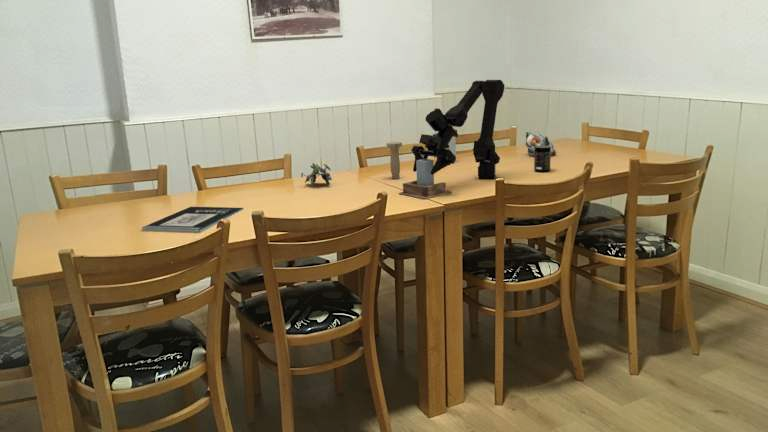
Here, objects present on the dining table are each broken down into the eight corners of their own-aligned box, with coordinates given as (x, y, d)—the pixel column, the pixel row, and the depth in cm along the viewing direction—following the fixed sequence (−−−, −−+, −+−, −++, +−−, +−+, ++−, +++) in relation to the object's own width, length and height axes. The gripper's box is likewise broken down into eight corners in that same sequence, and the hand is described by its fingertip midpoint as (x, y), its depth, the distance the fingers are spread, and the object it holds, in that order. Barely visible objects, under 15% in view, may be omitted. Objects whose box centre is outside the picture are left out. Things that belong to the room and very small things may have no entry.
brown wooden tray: (425, 187, 248) (424, 177, 247) (451, 192, 238) (451, 182, 237) (398, 194, 239) (398, 183, 238) (424, 199, 229) (424, 188, 228)
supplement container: (552, 170, 270) (553, 145, 267) (547, 173, 264) (547, 148, 262) (537, 169, 273) (537, 145, 271) (531, 172, 268) (531, 147, 265)
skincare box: (452, 160, 303) (451, 129, 299) (456, 162, 297) (456, 130, 294) (435, 162, 301) (434, 130, 298) (439, 164, 296) (438, 132, 292)
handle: (404, 178, 267) (403, 143, 263) (390, 180, 265) (389, 144, 261) (400, 176, 272) (399, 141, 268) (386, 178, 270) (385, 143, 266)
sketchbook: (244, 211, 228) (243, 205, 227) (199, 235, 200) (198, 229, 199) (191, 209, 233) (190, 204, 233) (140, 232, 205) (139, 226, 205)
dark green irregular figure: (328, 197, 264) (339, 176, 257) (305, 197, 258) (315, 175, 251) (318, 179, 270) (329, 157, 263) (295, 178, 264) (305, 156, 257)
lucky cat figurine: (560, 156, 301) (553, 132, 293) (537, 167, 301) (529, 143, 294) (547, 143, 313) (540, 119, 306) (525, 153, 314) (517, 130, 306)
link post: (425, 189, 242) (424, 157, 239) (434, 191, 239) (433, 159, 235) (417, 192, 239) (416, 159, 236) (425, 193, 236) (424, 160, 233)
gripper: (413, 124, 242) (393, 157, 238) (449, 127, 228) (429, 162, 224) (429, 142, 249) (409, 174, 245) (464, 146, 235) (445, 180, 231)
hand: (422, 172), depth 236 cm, fingers open, 9 cm apart
